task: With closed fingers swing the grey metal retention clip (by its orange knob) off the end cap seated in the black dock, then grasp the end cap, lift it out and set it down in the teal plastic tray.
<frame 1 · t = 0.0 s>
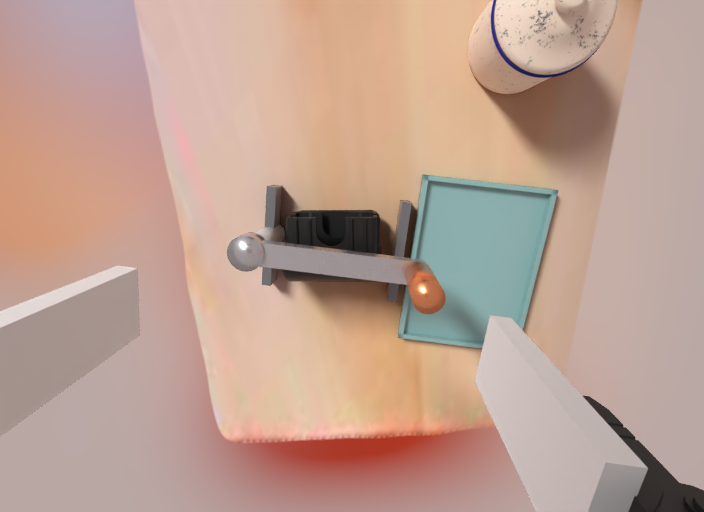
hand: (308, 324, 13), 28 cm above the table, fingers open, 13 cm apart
teacup with lid: (511, 32, 35), on the table
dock: (337, 241, 41), on the table
end cap: (337, 240, 41), on the table
tray: (470, 265, 41), on the table
clip: (326, 270, 30), point 12 cm above the table, hinge at 0.0°
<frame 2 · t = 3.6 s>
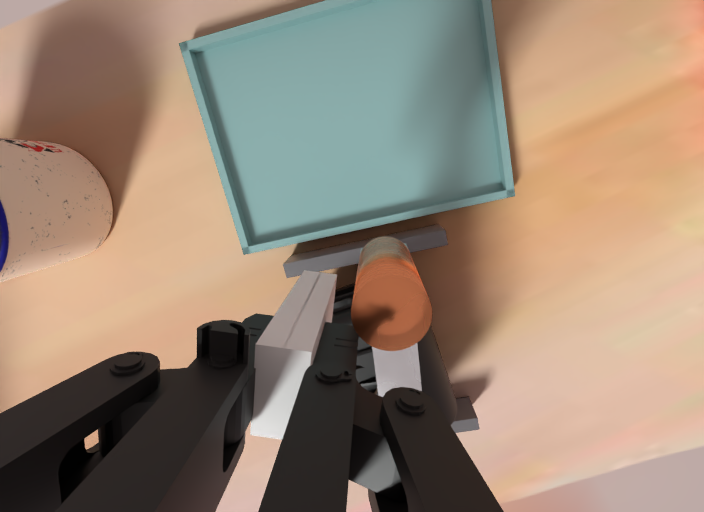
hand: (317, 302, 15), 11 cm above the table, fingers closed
teacup with lid: (46, 207, 27), on the table
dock: (384, 332, 28), on the table
end cap: (383, 330, 28), on the table
tray: (351, 123, 24), on the table
clip: (405, 443, 16), point 12 cm above the table, hinge at 5.5°, touching gripper
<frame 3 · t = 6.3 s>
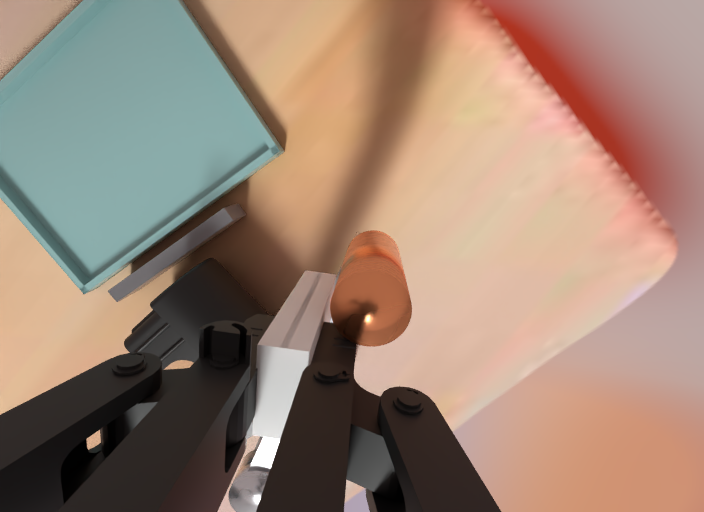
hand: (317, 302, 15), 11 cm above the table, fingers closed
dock: (242, 320, 28), on the table
end cap: (243, 318, 29), on the table
tray: (120, 143, 25), on the table
clip: (299, 421, 16), point 12 cm above the table, hinge at 57.6°, touching gripper
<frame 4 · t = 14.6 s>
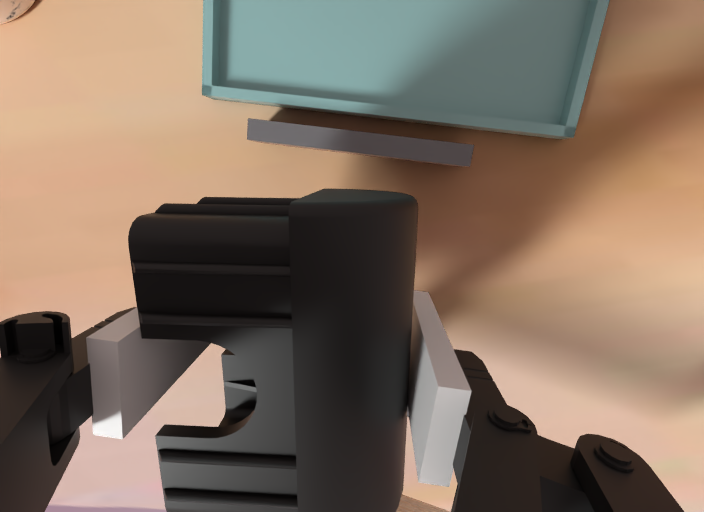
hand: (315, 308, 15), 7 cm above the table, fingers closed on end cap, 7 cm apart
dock: (346, 266, 21), on the table
end cap: (317, 304, 15), point 6 cm above the table, touching gripper
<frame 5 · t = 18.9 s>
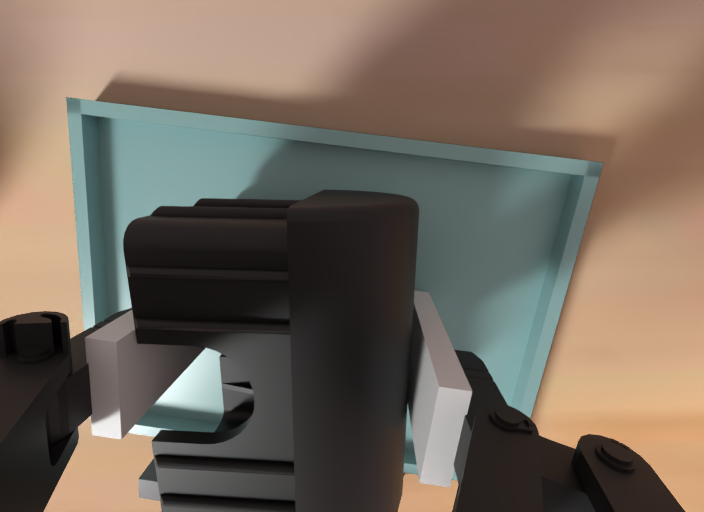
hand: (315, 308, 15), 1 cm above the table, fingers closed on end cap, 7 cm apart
end cap: (316, 306, 15), on the table, touching gripper, tray
tray: (316, 302, 15), on the table
when the fingers open (1 cm above the table, at t = 18.9 s): end cap stays where it is, resting on tray.
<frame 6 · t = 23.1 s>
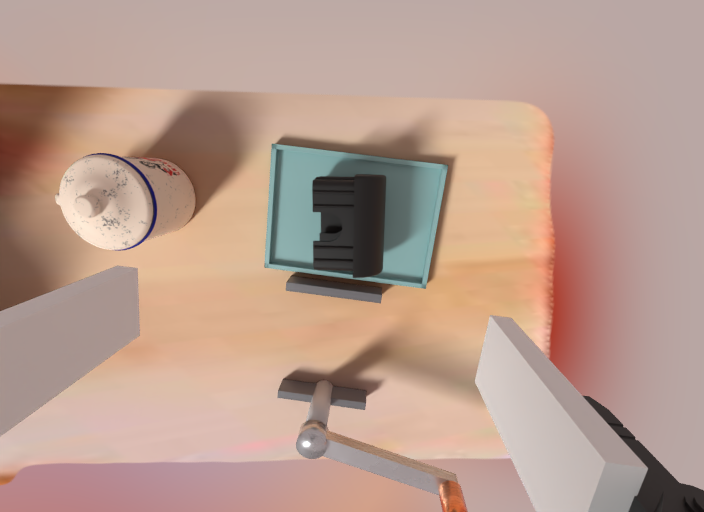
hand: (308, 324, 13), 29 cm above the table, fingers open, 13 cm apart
teacup with lid: (150, 195, 42), on the table
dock: (329, 337, 45), on the table
end cap: (352, 218, 41), resting on tray
tray: (352, 217, 41), on the table
clip: (379, 484, 36), point 12 cm above the table, hinge at 102.5°
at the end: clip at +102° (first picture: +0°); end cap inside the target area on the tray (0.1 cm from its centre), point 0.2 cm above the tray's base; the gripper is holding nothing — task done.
